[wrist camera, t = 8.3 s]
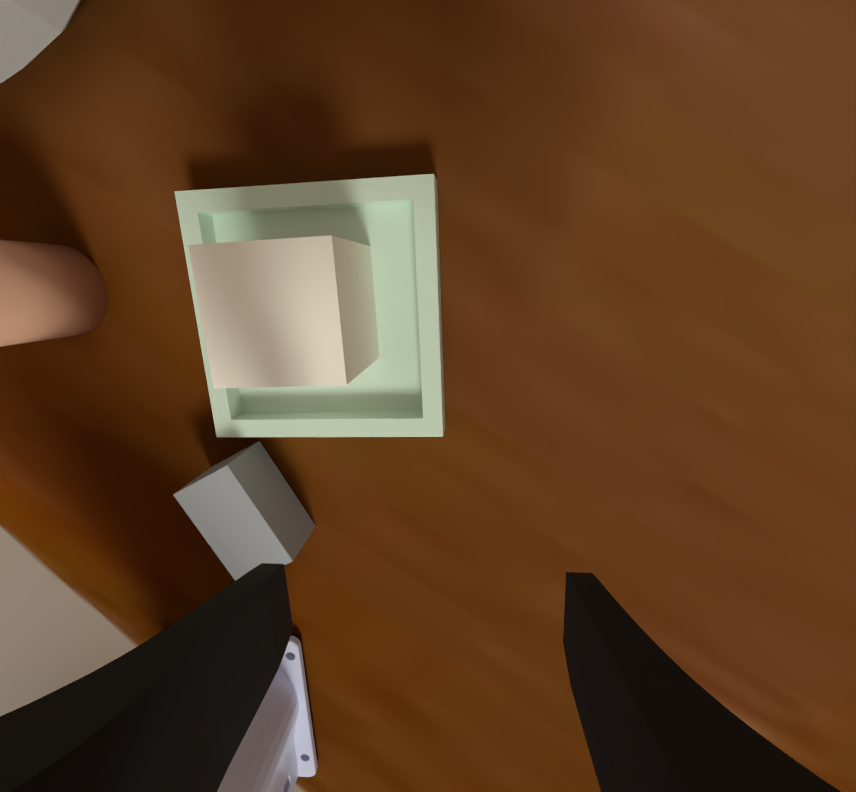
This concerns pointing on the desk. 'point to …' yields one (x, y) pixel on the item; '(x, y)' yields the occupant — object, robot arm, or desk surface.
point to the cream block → (286, 311)
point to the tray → (393, 289)
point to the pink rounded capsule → (47, 292)
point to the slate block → (247, 511)
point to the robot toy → (29, 30)
